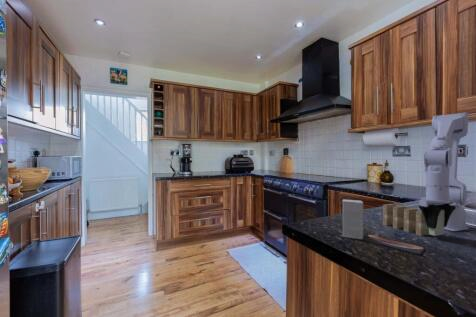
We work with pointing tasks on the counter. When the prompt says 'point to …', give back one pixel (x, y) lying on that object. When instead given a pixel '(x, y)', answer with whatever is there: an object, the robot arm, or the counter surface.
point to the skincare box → (353, 219)
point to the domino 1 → (388, 214)
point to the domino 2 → (398, 217)
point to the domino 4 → (421, 224)
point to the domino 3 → (410, 219)
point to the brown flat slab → (394, 244)
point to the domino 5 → (438, 225)
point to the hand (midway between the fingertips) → (436, 226)
